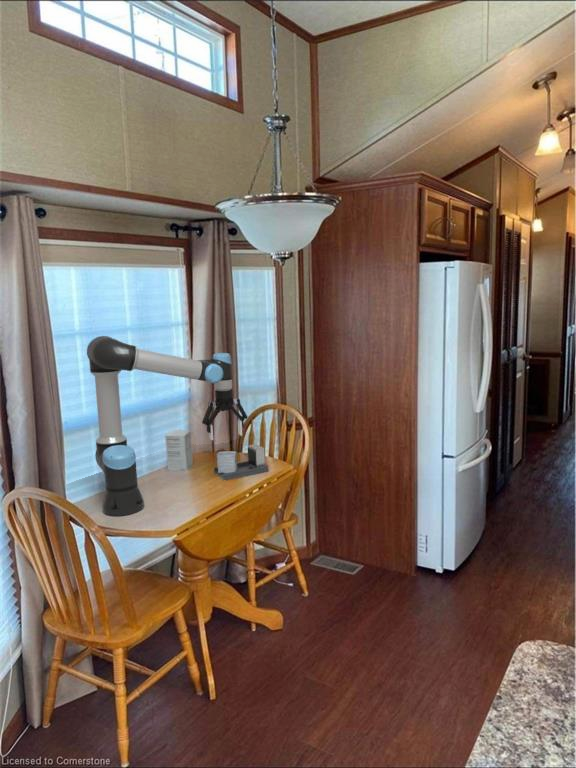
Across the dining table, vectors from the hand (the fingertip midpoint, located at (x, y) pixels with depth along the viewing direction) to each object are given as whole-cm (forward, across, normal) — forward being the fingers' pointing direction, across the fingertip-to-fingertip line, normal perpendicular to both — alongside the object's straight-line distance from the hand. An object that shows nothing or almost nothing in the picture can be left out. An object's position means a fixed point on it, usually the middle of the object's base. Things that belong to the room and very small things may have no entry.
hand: (225, 437), depth 246 cm
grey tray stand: (+17, -6, 0) cm, 18 cm away
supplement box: (+18, +14, -22) cm, 32 cm away
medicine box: (+16, 0, 0) cm, 16 cm away
